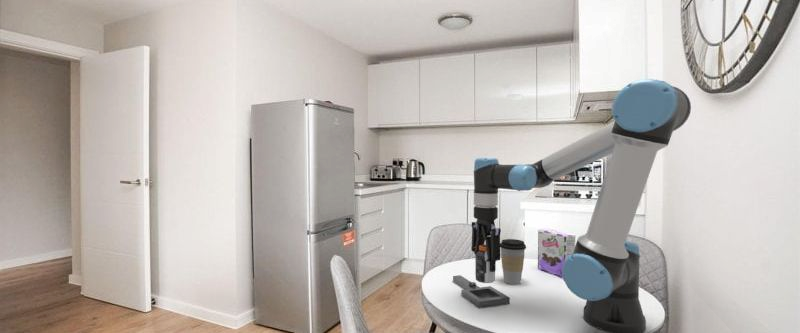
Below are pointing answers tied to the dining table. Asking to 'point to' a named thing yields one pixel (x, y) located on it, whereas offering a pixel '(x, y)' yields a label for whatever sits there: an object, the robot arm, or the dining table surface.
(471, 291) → the square metal pan
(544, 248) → the candy box
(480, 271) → the pill bottle
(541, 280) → the dining table surface
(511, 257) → the coffee cup
